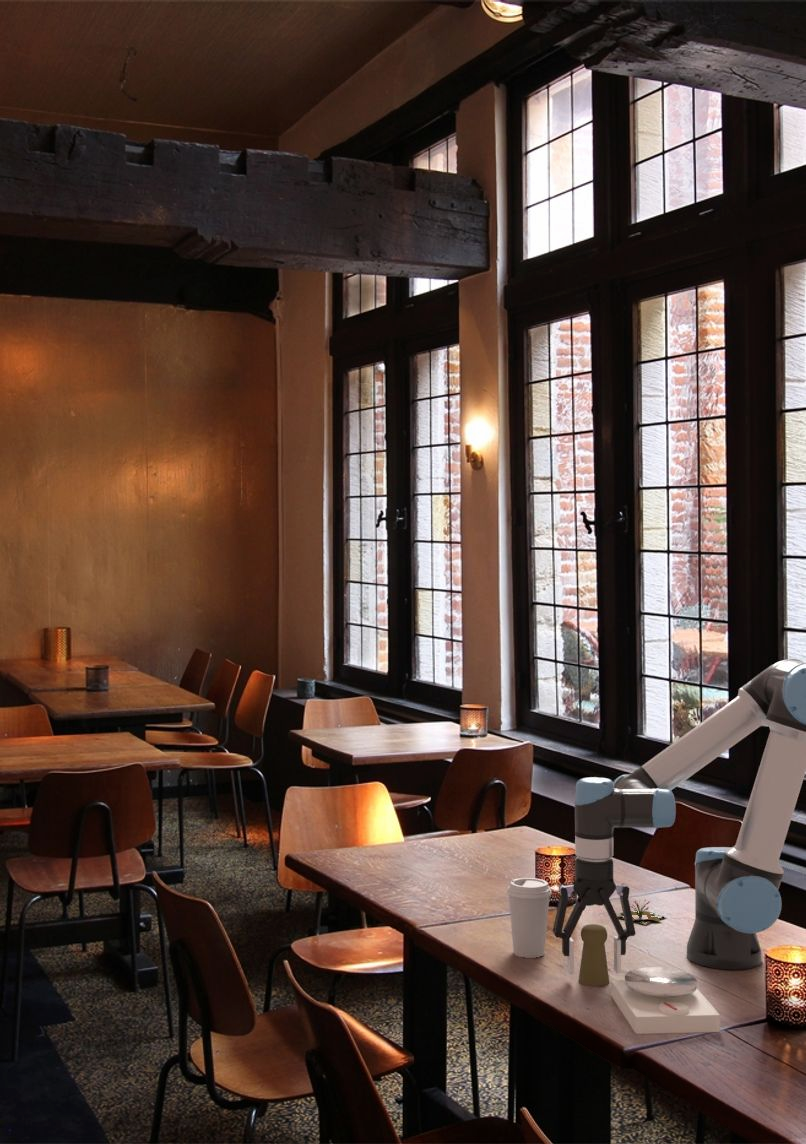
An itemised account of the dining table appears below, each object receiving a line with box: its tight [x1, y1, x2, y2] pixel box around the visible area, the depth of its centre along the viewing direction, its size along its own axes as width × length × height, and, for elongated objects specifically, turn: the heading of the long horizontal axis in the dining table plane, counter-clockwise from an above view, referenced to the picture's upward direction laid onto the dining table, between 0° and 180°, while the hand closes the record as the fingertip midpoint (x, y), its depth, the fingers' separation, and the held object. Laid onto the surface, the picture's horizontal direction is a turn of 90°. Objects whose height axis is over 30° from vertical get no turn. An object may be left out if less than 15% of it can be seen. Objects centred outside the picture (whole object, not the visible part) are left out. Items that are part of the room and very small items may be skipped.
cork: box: [578, 923, 610, 987], centre depth 245 cm, size 6×6×11 cm
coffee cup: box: [505, 877, 553, 959], centre depth 262 cm, size 10×10×15 cm
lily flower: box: [617, 899, 662, 926], centre depth 288 cm, size 12×12×5 cm
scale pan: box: [624, 966, 698, 997], centre depth 229 cm, size 13×13×1 cm
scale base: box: [610, 979, 721, 1035], centre depth 227 cm, size 15×19×4 cm
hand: (593, 971), depth 245 cm, fingers open, 9 cm apart
